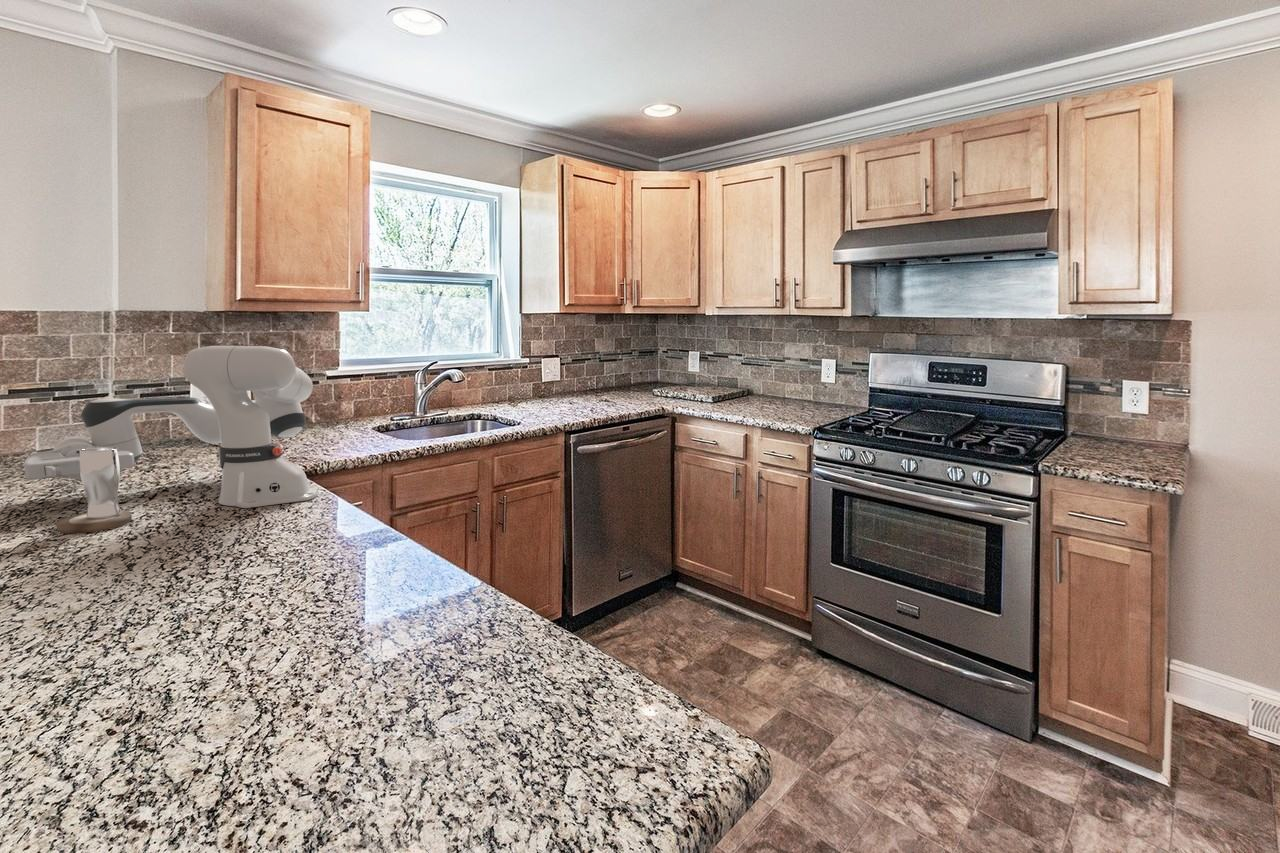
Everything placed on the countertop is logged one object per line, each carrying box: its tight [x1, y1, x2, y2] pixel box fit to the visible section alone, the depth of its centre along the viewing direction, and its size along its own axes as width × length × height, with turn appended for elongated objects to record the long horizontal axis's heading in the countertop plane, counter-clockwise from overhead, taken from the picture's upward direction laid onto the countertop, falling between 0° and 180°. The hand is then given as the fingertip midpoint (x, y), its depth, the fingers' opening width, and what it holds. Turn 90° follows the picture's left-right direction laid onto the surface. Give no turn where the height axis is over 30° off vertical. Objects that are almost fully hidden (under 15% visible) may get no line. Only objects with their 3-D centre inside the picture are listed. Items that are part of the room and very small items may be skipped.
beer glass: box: [79, 447, 121, 519], centre depth 150 cm, size 7×7×15 cm
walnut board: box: [55, 509, 133, 535], centre depth 149 cm, size 13×13×2 cm
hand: (84, 469), depth 156 cm, fingers open, 8 cm apart
